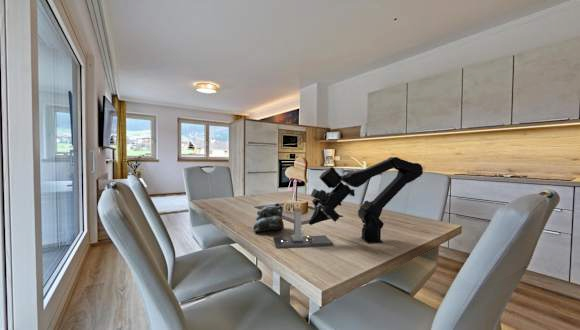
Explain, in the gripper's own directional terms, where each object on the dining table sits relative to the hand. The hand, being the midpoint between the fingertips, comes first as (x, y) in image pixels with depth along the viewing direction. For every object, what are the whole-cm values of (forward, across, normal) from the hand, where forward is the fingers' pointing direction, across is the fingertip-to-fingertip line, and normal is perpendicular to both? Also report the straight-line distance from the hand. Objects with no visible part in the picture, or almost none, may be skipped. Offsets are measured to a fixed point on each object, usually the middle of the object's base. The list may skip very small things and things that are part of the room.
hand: (309, 224), depth 93 cm
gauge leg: (+8, 0, +1) cm, 8 cm away
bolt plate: (+7, 0, +3) cm, 8 cm away
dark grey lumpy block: (+16, -17, -5) cm, 24 cm away
